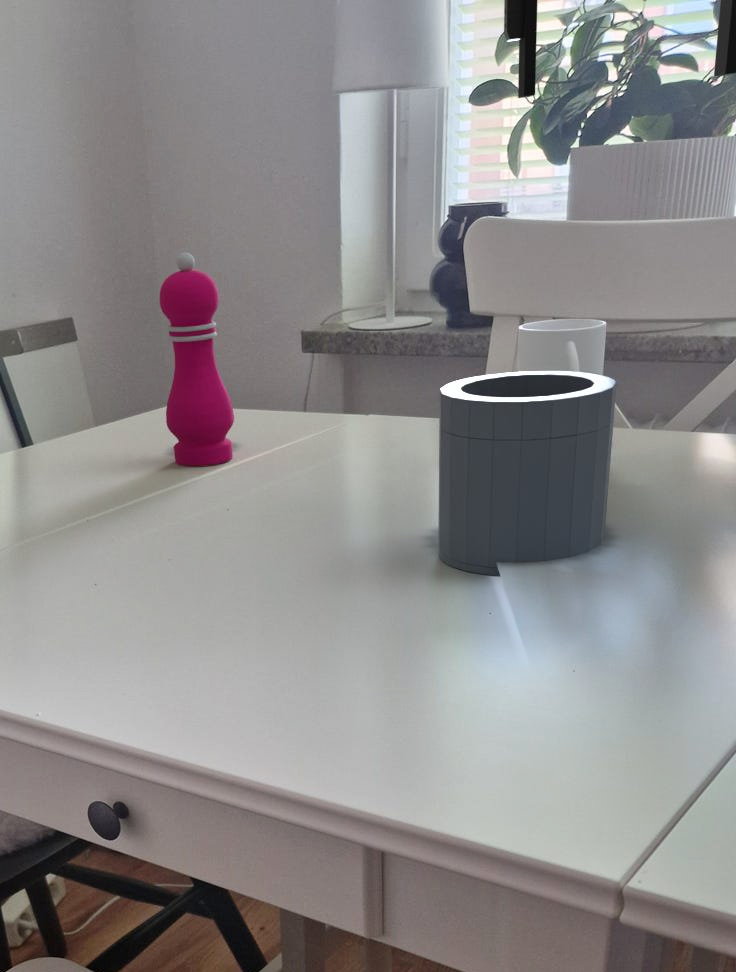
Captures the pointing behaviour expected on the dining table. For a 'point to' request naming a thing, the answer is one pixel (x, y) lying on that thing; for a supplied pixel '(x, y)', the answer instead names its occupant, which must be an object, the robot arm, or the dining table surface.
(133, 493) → the dining table surface
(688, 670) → the dining table surface
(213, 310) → the pepper mill
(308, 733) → the dining table surface
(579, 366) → the mug
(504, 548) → the open container
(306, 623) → the dining table surface
